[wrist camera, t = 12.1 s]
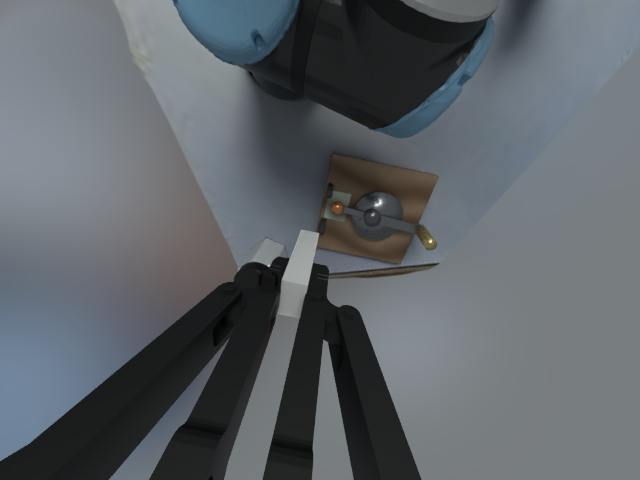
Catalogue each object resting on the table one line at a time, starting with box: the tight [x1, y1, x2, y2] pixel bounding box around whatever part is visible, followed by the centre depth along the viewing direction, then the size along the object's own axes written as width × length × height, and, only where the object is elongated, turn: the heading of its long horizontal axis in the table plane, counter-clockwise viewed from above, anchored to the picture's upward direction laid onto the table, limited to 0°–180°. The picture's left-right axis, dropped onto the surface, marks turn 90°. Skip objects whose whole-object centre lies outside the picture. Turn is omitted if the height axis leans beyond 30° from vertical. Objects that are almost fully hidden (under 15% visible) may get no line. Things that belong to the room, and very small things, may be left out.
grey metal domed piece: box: [330, 191, 437, 250], centre depth 42 cm, size 19×10×8 cm, turn 76°
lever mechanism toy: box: [317, 153, 438, 264], centre depth 45 cm, size 20×20×8 cm
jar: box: [234, 238, 287, 289], centre depth 50 cm, size 9×8×12 cm
